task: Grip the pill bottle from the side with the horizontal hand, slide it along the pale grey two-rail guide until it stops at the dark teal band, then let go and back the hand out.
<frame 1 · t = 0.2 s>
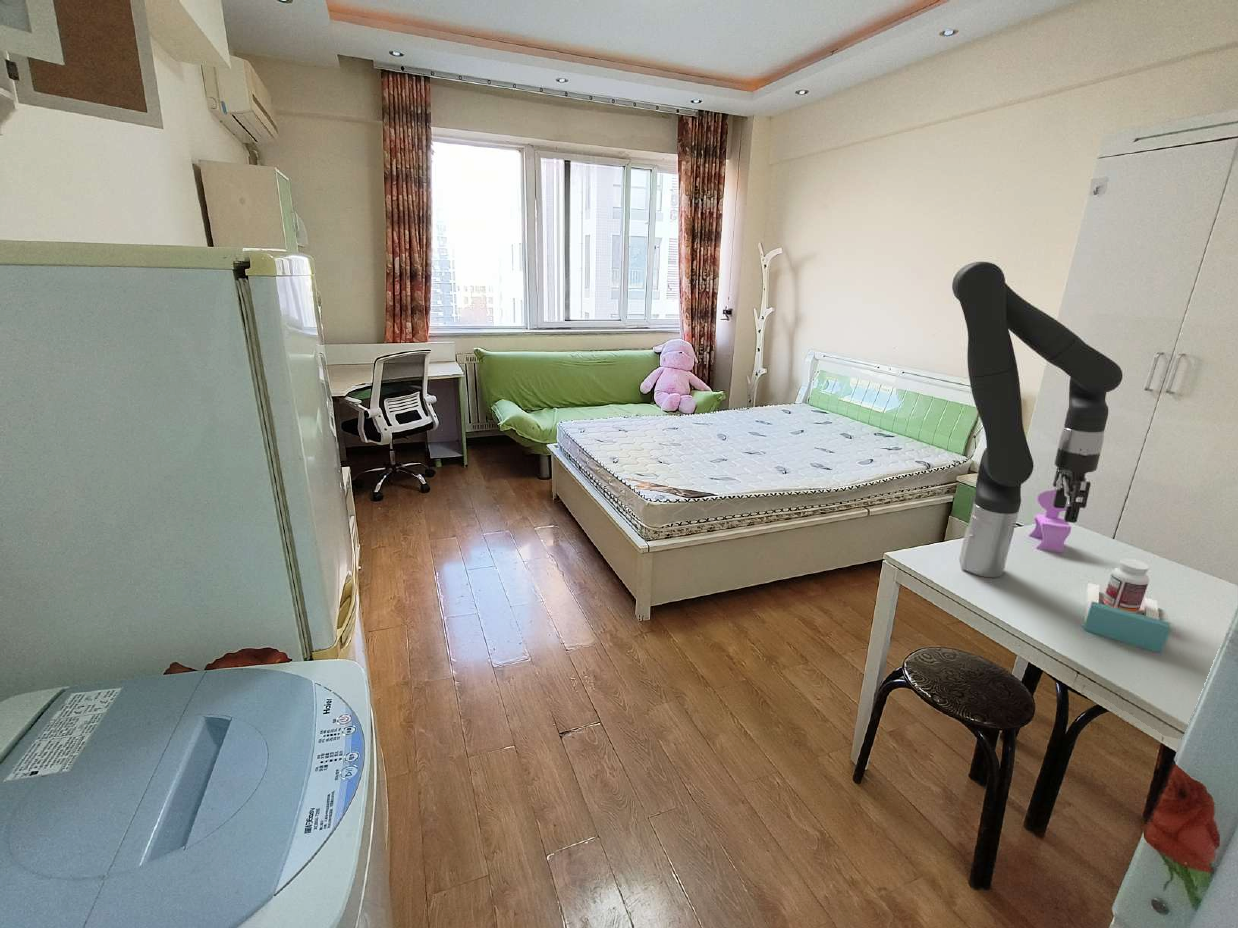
hand: (1064, 514, 131), 18 cm above the table, tool pointing down, fingers open, 8 cm apart
toy chair: (1045, 544, 154), on the table
guide: (1120, 615, 123), on the table
pill bottle: (1119, 607, 126), on the table
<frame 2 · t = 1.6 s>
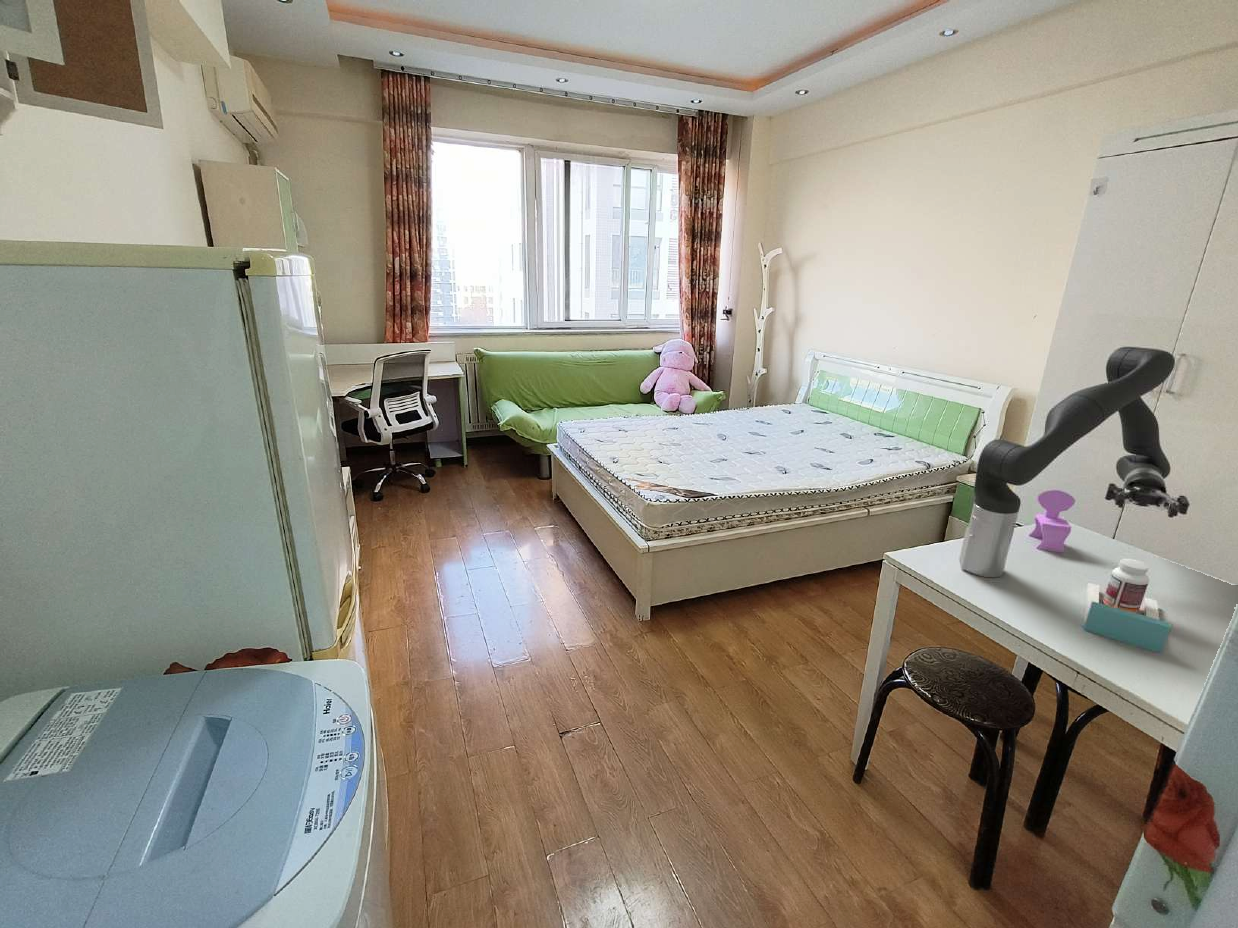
hand: (1146, 508, 127), 20 cm above the table, tool horizontal, fingers open, 8 cm apart
nothing on the table moved.
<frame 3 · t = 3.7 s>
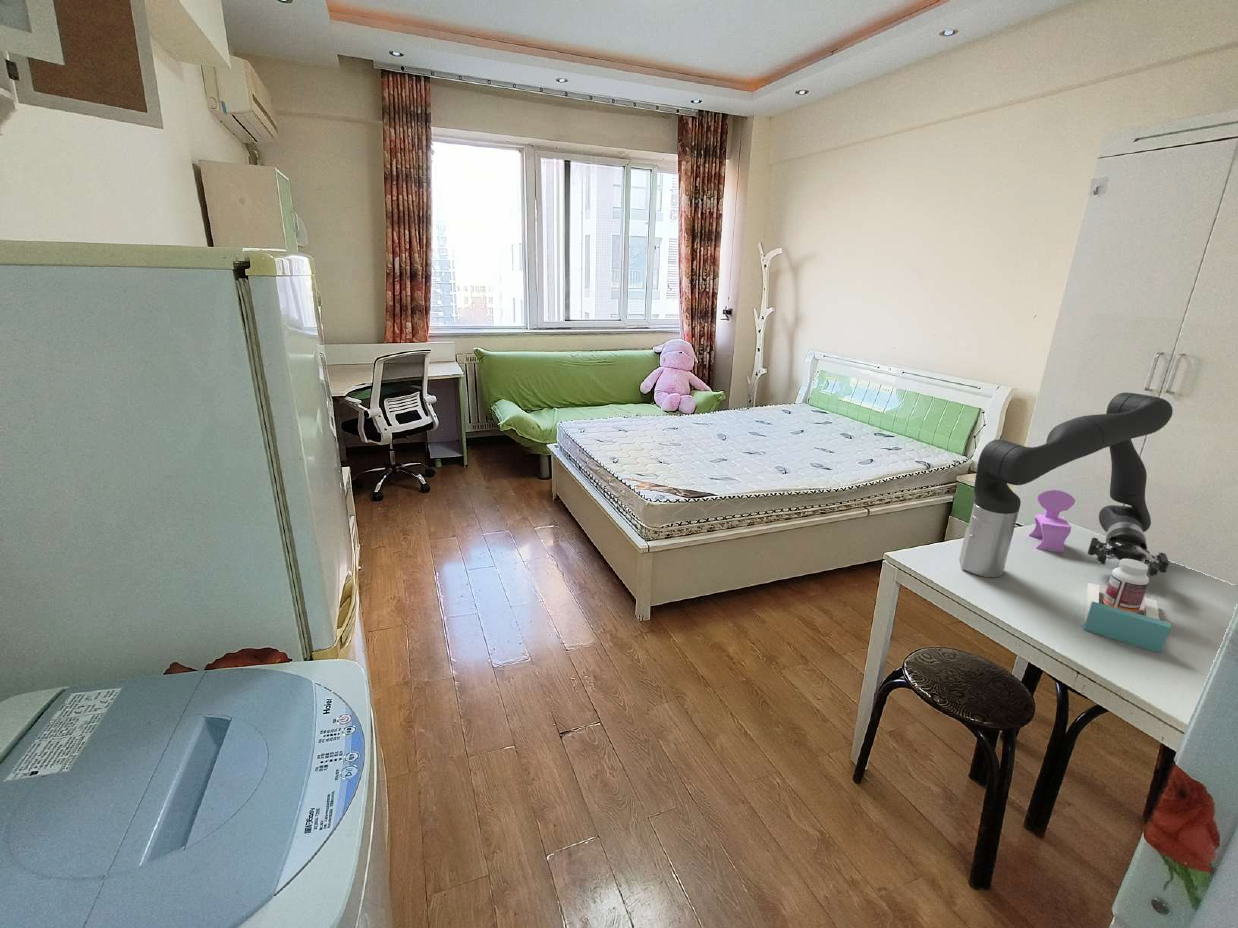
hand: (1127, 566, 130), 6 cm above the table, tool horizontal, fingers open, 8 cm apart
nothing on the table moved.
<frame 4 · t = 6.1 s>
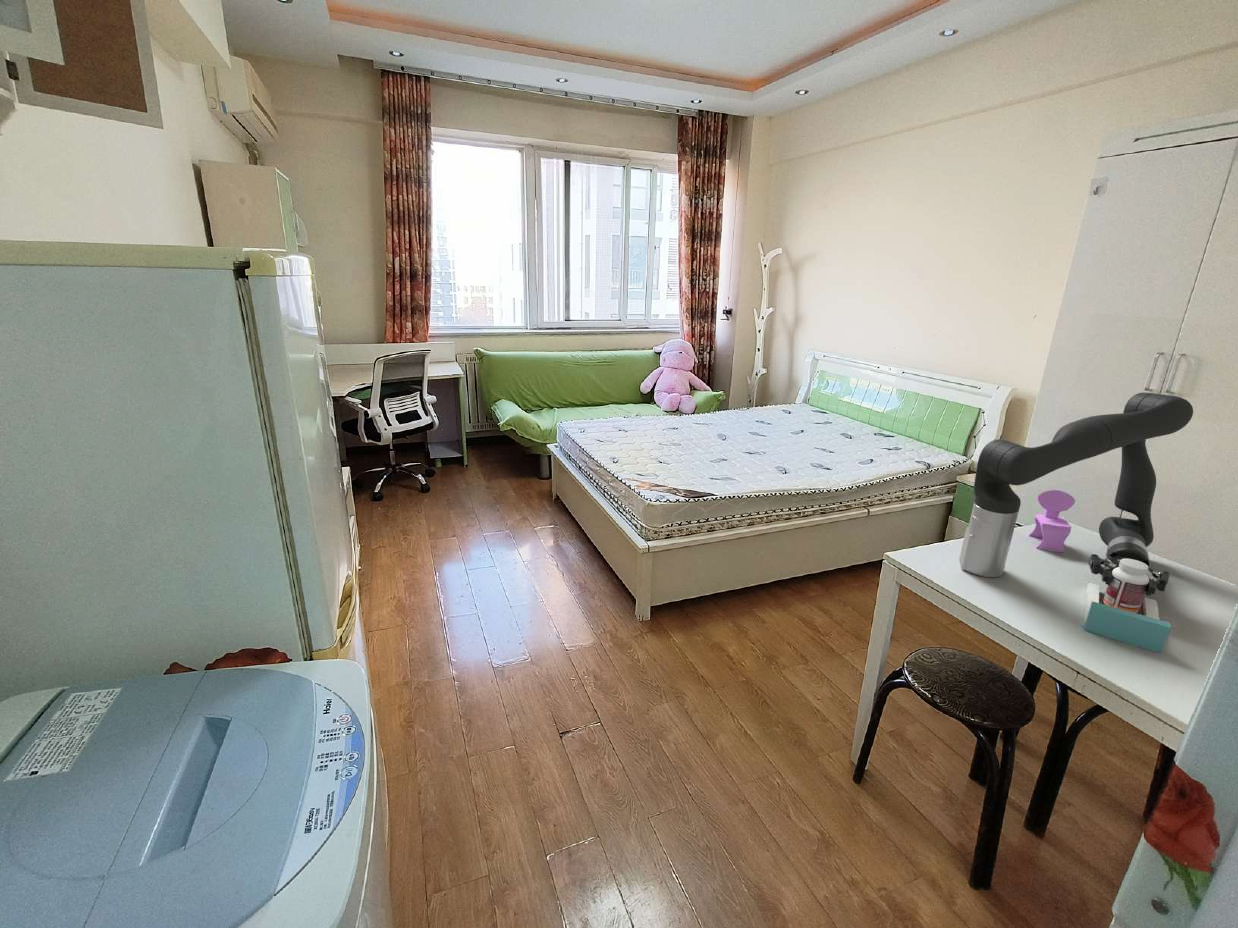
hand: (1129, 586, 122), 7 cm above the table, tool horizontal, fingers closed on pill bottle, 6 cm apart
pill bottle: (1119, 607, 126), on the table, touching gripper
everything else where it was.
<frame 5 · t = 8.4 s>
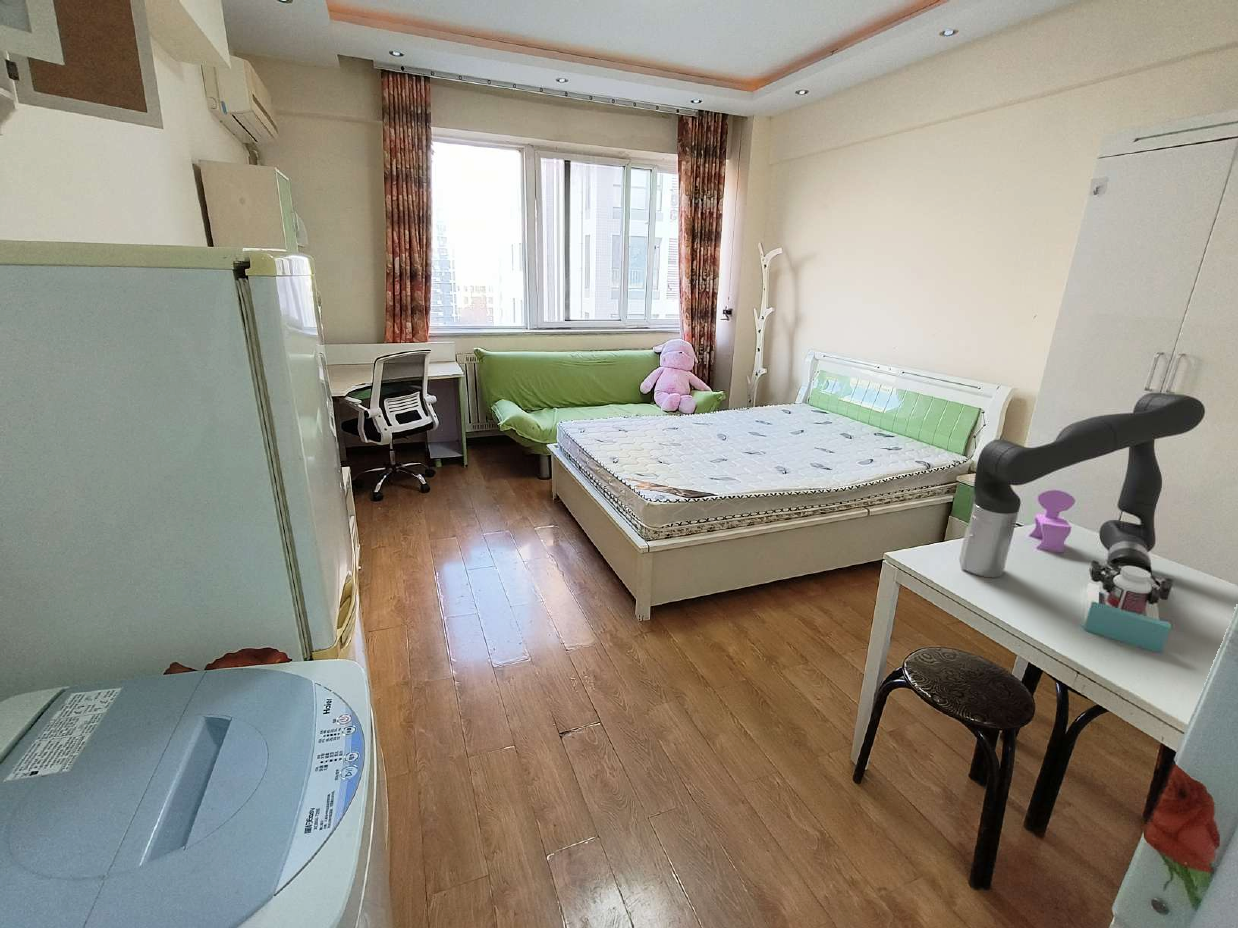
hand: (1130, 594, 118), 7 cm above the table, tool horizontal, fingers closed on pill bottle, 6 cm apart
pill bottle: (1121, 616, 122), on the table, touching gripper
everything else where it was.
when the fingers open (7 cm above the table, at t = 10.7 s): pill bottle stays where it is, on the table.
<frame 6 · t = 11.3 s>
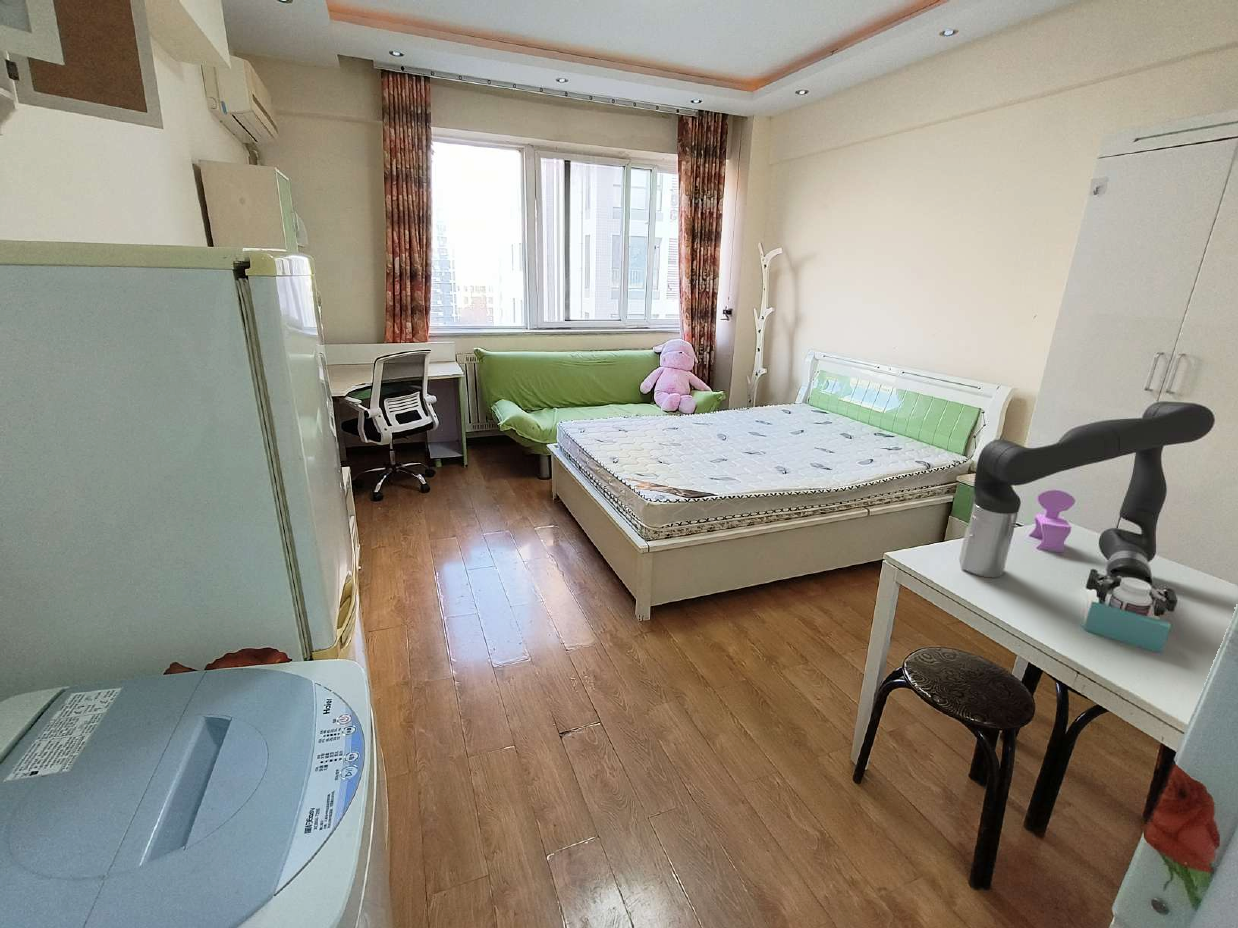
hand: (1130, 604, 115), 7 cm above the table, tool horizontal, fingers open, 8 cm apart
pill bottle: (1120, 629, 119), on the table
everything else where it was.
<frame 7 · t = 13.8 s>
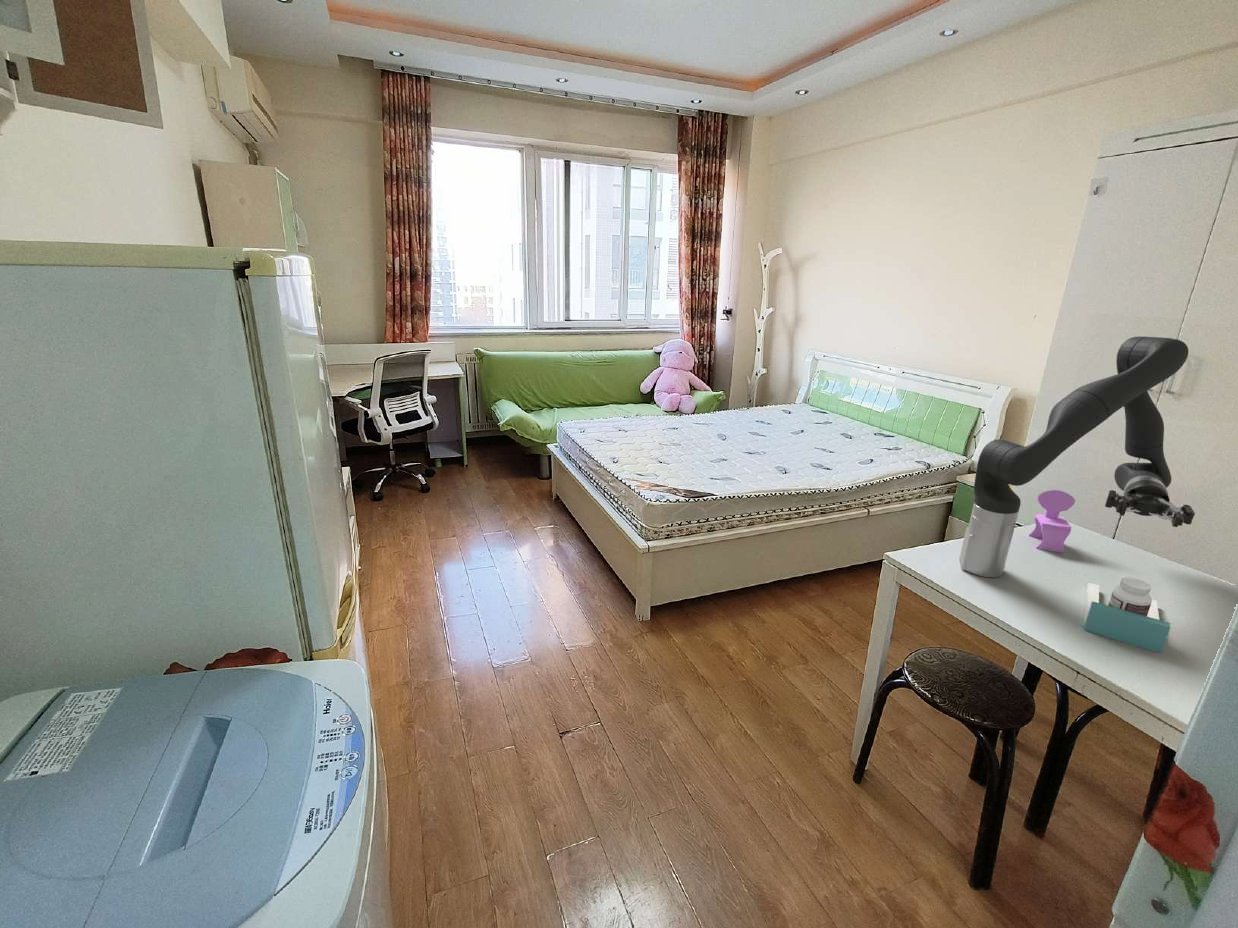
hand: (1149, 516, 120), 22 cm above the table, tool horizontal, fingers open, 8 cm apart
nothing on the table moved.
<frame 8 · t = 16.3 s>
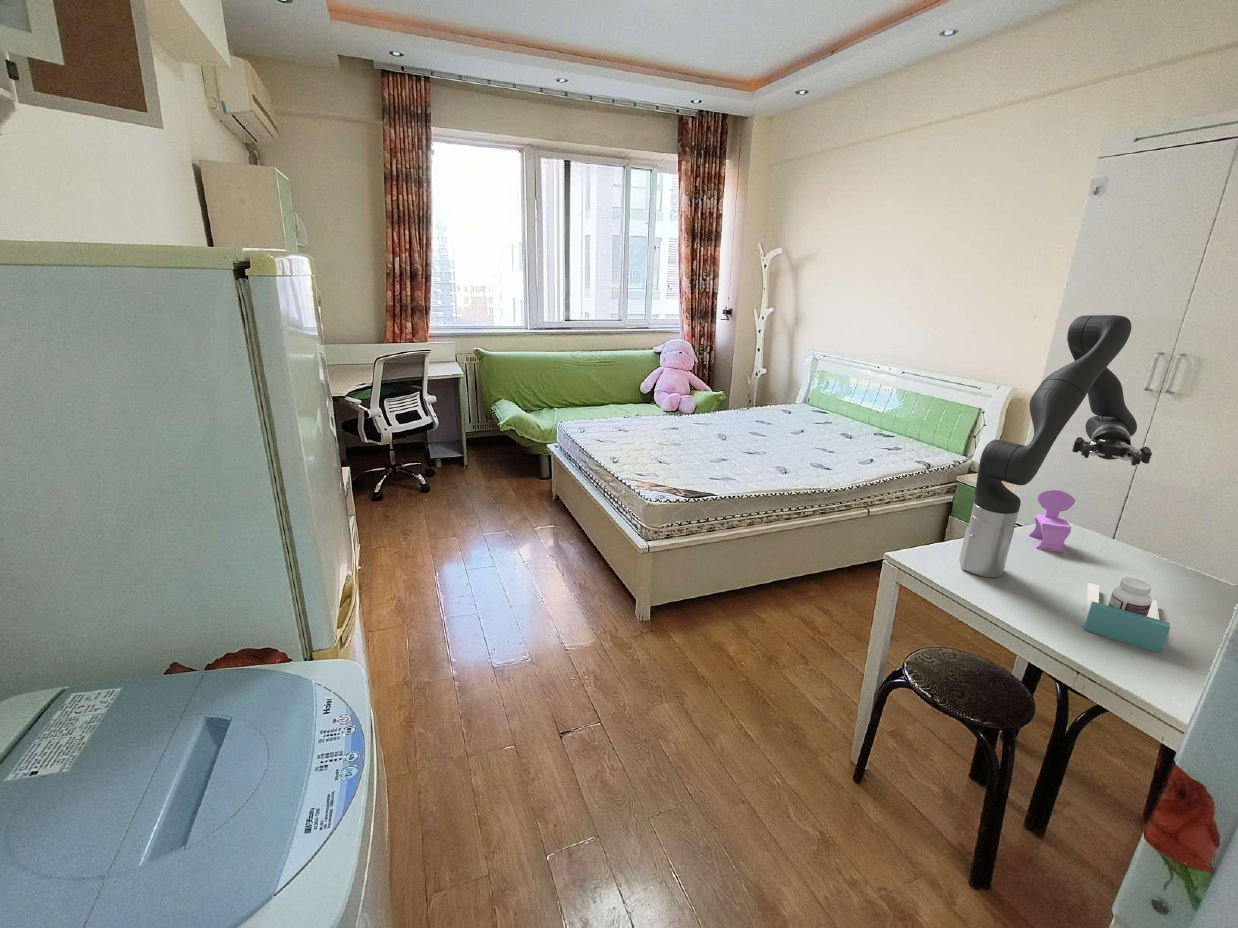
hand: (1110, 457, 131), 30 cm above the table, tool horizontal, fingers open, 8 cm apart
nothing on the table moved.
at the end: pill bottle 0.1 cm from the target spot on the guide, point 0.0 cm above the guide's base; pill bottle tilted 0°; the gripper is holding nothing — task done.
